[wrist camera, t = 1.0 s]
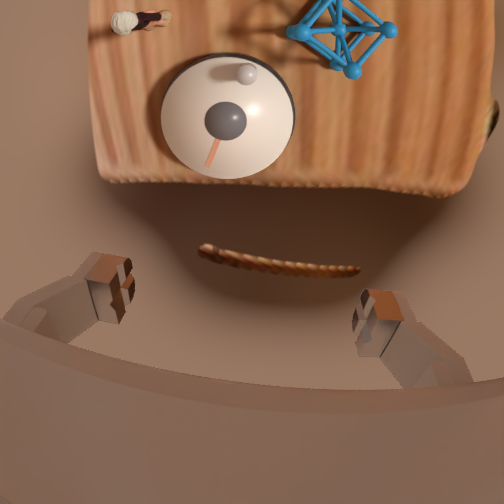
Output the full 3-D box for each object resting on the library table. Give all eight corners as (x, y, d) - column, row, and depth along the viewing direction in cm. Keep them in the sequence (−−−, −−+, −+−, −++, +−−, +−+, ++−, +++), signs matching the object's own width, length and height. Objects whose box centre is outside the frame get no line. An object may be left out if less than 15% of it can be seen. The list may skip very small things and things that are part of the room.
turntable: (187, 40, 33) (177, 41, 29) (314, 87, 38) (321, 95, 33) (150, 152, 45) (139, 168, 40) (260, 190, 49) (260, 208, 45)
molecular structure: (375, 28, 32) (404, 31, 24) (336, 72, 38) (356, 84, 30) (321, -13, 28) (339, -24, 21) (281, 33, 34) (288, 34, 27)
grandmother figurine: (173, 0, 30) (144, -8, 21) (181, 21, 32) (154, 20, 23) (126, 21, 31) (85, 24, 22) (134, 41, 34) (94, 49, 24)
